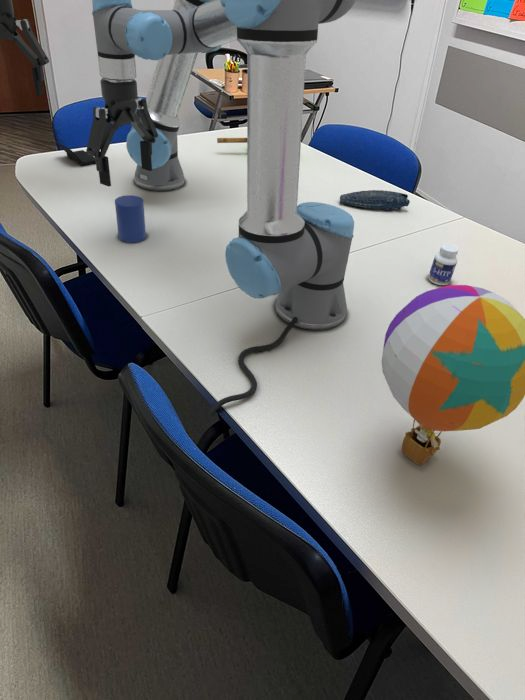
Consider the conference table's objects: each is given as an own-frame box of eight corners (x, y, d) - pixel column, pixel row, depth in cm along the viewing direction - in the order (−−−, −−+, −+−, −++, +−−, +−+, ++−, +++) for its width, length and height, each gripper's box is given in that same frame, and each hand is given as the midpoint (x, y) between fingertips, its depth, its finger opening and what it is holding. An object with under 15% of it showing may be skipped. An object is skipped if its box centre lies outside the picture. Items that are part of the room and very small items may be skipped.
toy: (330, 445, 83) (367, 285, 64) (404, 395, 93) (455, 244, 75) (432, 532, 72) (514, 369, 53) (503, 464, 82) (592, 308, 64)
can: (126, 245, 129) (122, 208, 123) (114, 234, 133) (109, 198, 127) (150, 238, 133) (148, 203, 127) (137, 228, 137) (135, 193, 131)
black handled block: (103, 155, 172) (82, 133, 163) (91, 173, 171) (70, 152, 162) (82, 151, 178) (61, 130, 170) (71, 168, 177) (49, 148, 168)
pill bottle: (426, 282, 126) (437, 249, 120) (429, 272, 130) (439, 240, 124) (449, 287, 124) (460, 254, 119) (450, 277, 128) (461, 245, 123)
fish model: (408, 214, 157) (412, 198, 153) (339, 207, 158) (341, 191, 154) (406, 206, 162) (410, 190, 159) (339, 199, 163) (341, 183, 160)
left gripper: (-71, -12, 117) (-43, 91, 130) (40, -1, 117) (57, 100, 131) (-54, -14, 123) (-29, 84, 136) (52, -4, 123) (66, 93, 137)
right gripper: (146, 67, 120) (151, 159, 134) (58, 83, 103) (74, 187, 117) (170, 74, 117) (173, 167, 131) (85, 91, 100) (98, 196, 114)
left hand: (13, 92), depth 133 cm, fingers open, 13 cm apart
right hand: (127, 176), depth 124 cm, fingers open, 13 cm apart
